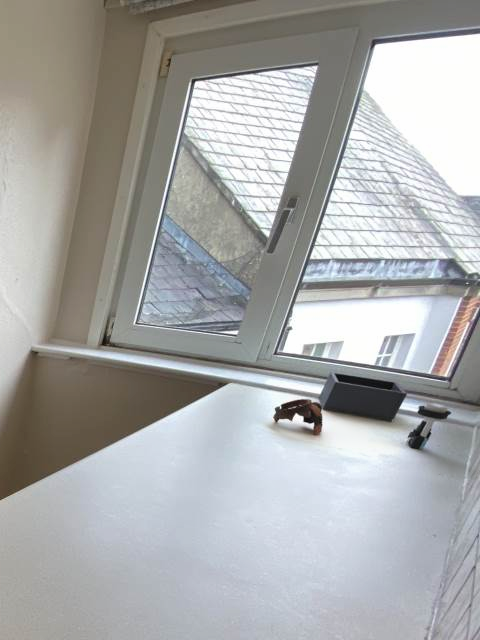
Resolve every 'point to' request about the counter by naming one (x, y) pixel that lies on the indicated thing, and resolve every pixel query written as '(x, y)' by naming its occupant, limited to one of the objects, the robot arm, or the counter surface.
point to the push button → (426, 424)
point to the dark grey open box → (362, 396)
